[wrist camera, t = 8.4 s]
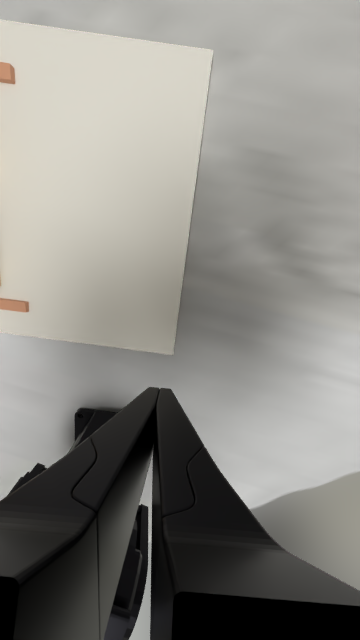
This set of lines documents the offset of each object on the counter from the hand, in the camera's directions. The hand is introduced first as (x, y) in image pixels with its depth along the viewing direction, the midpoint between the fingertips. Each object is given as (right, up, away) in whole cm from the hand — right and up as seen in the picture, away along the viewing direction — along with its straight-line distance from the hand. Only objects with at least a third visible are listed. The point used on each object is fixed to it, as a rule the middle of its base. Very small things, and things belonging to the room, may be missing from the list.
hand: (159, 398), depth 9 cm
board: (-13, +12, +8) cm, 20 cm away
